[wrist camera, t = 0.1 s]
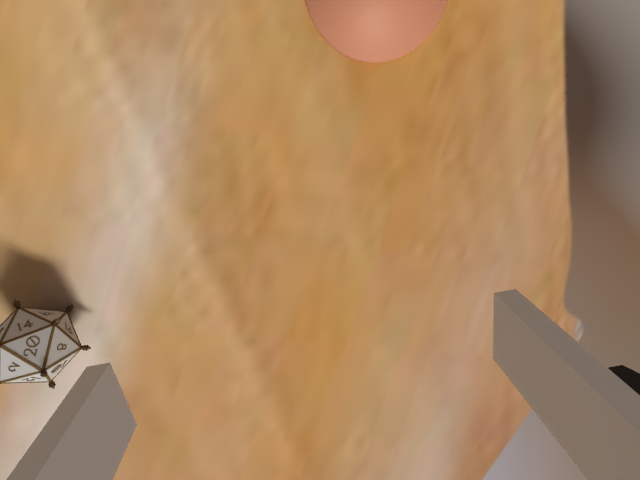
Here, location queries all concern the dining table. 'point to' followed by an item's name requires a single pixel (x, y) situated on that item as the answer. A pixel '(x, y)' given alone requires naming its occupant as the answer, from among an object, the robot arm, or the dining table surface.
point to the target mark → (375, 25)
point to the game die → (36, 345)
